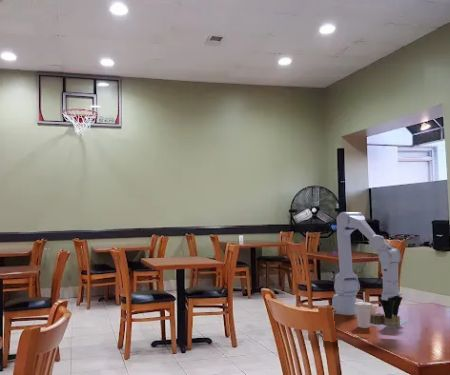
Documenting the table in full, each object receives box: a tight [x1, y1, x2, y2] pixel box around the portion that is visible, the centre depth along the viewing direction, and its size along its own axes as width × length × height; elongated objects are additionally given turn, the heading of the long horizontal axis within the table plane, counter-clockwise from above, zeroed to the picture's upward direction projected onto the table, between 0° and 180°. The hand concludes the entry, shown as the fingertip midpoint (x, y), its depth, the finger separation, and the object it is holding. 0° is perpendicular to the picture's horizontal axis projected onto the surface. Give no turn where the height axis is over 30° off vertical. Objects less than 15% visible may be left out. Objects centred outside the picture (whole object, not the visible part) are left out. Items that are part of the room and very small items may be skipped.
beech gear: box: [384, 315, 401, 326], centre depth 182 cm, size 5×5×3 cm
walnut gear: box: [370, 312, 385, 324], centre depth 185 cm, size 5×5×3 cm
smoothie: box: [354, 291, 373, 329], centre depth 178 cm, size 6×6×14 cm
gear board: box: [370, 312, 410, 329], centre depth 186 cm, size 12×18×5 cm, turn 142°
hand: (391, 316), depth 182 cm, fingers open, 6 cm apart
